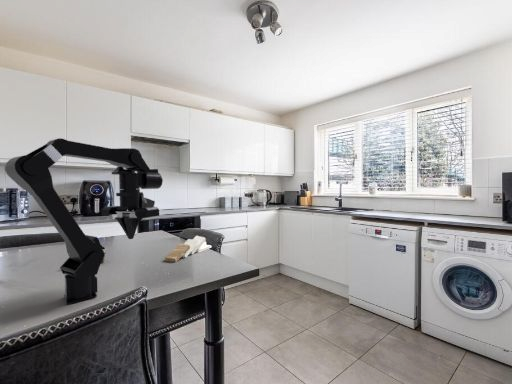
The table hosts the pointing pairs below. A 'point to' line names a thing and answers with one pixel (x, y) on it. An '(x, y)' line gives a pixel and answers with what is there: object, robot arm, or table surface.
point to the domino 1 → (177, 253)
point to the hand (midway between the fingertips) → (130, 238)
